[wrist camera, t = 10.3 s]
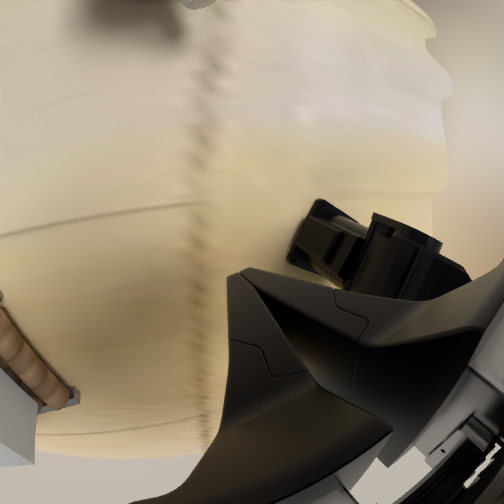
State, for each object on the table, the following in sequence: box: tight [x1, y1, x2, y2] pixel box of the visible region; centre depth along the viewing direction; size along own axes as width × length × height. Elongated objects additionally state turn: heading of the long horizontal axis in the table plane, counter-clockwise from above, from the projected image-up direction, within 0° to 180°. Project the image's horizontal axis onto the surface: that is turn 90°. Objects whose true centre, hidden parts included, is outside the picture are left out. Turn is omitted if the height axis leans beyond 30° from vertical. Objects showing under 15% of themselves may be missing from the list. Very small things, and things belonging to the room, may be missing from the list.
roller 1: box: [0, 307, 70, 410], centre depth 16 cm, size 11×3×3 cm, turn 13°
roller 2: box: [0, 356, 43, 414], centre depth 15 cm, size 11×3×3 cm, turn 13°
